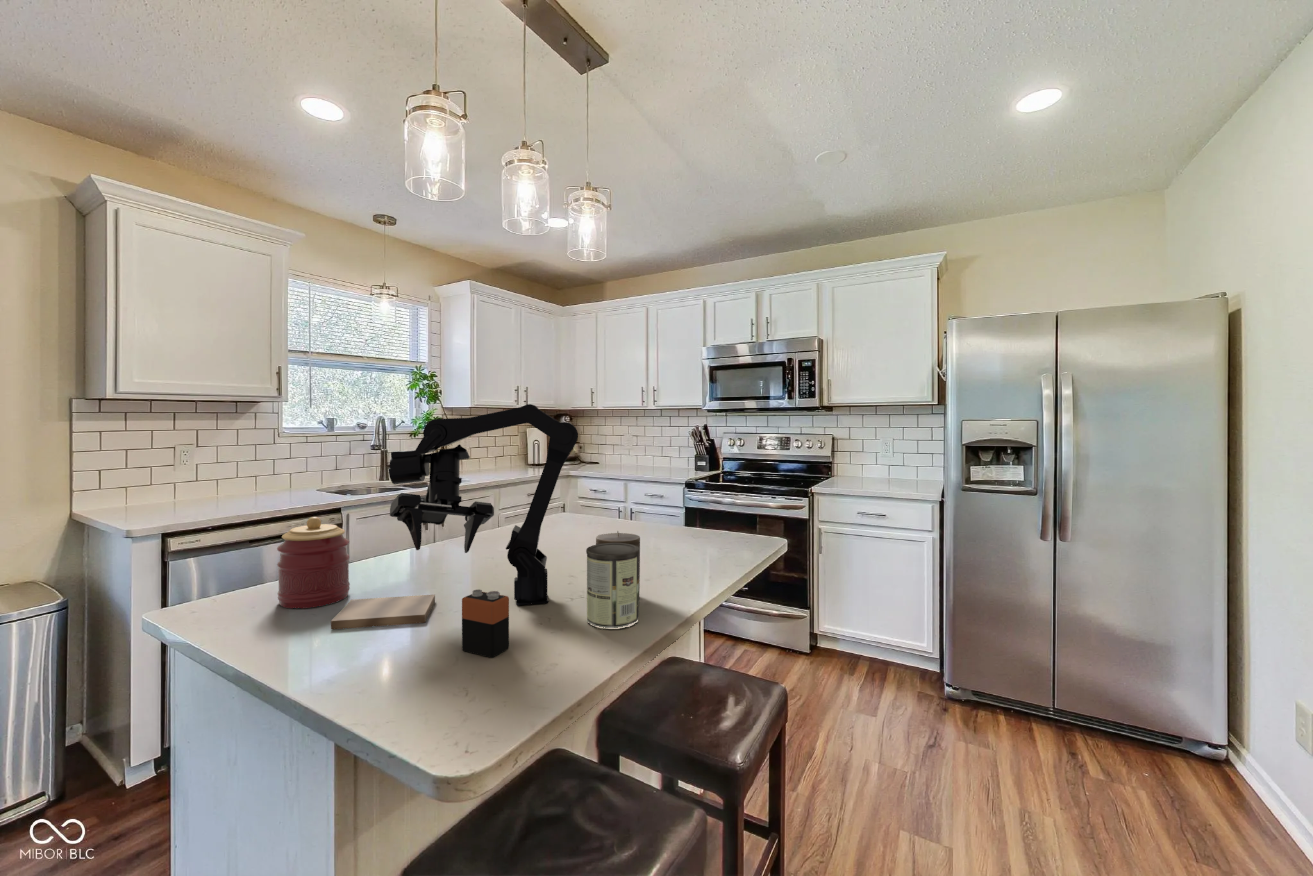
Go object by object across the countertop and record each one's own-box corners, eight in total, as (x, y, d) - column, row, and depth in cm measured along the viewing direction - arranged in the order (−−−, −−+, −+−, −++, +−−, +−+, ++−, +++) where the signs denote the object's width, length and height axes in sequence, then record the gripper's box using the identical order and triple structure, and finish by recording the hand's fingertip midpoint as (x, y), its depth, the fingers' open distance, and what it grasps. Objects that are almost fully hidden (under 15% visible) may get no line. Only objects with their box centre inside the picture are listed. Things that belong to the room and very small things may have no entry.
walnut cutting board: (435, 601, 115) (435, 594, 114) (424, 622, 103) (424, 614, 103) (351, 607, 111) (351, 599, 111) (331, 629, 99) (330, 621, 99)
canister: (361, 589, 122) (360, 511, 122) (328, 610, 109) (327, 523, 109) (302, 589, 122) (301, 511, 121) (262, 610, 109) (261, 522, 108)
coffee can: (602, 607, 112) (603, 540, 112) (647, 615, 108) (648, 545, 107) (575, 625, 103) (575, 551, 102) (623, 634, 99) (624, 557, 98)
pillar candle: (629, 609, 111) (631, 536, 111) (586, 603, 115) (588, 532, 114) (645, 595, 121) (647, 528, 120) (605, 590, 124) (606, 525, 123)
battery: (492, 659, 88) (492, 598, 87) (460, 651, 91) (460, 592, 90) (510, 649, 92) (510, 590, 91) (478, 641, 95) (478, 585, 94)
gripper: (473, 498, 122) (473, 566, 115) (384, 487, 111) (378, 562, 103) (494, 477, 115) (496, 548, 108) (401, 464, 104) (396, 542, 96)
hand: (443, 551), depth 104 cm, fingers open, 9 cm apart
